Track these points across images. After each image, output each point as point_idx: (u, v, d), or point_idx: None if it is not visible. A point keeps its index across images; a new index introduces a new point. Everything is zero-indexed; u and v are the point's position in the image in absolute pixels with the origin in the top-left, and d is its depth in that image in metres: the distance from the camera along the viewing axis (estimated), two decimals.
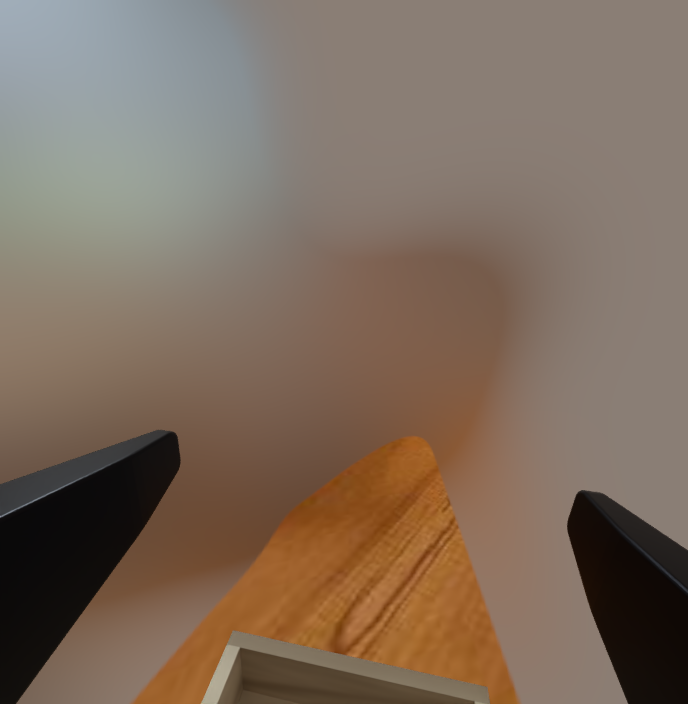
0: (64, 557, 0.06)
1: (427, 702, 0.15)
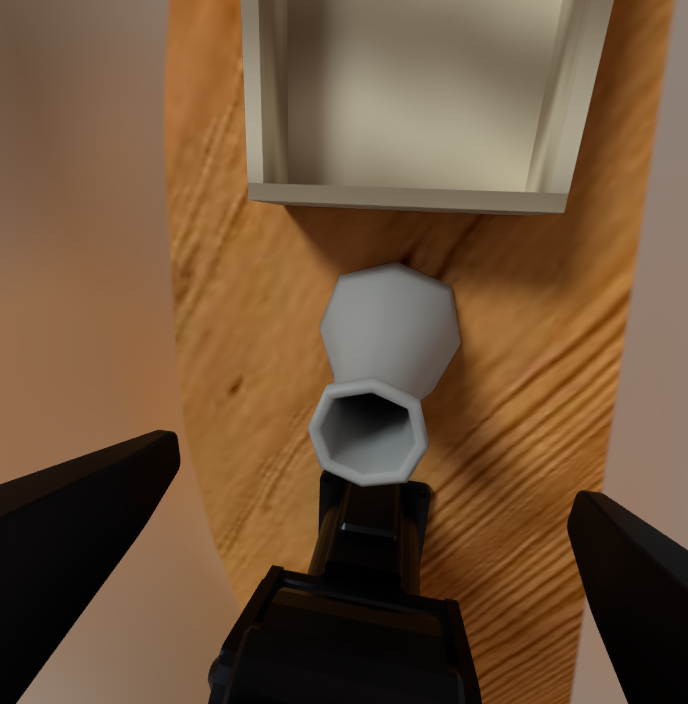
0: (64, 557, 0.06)
1: None
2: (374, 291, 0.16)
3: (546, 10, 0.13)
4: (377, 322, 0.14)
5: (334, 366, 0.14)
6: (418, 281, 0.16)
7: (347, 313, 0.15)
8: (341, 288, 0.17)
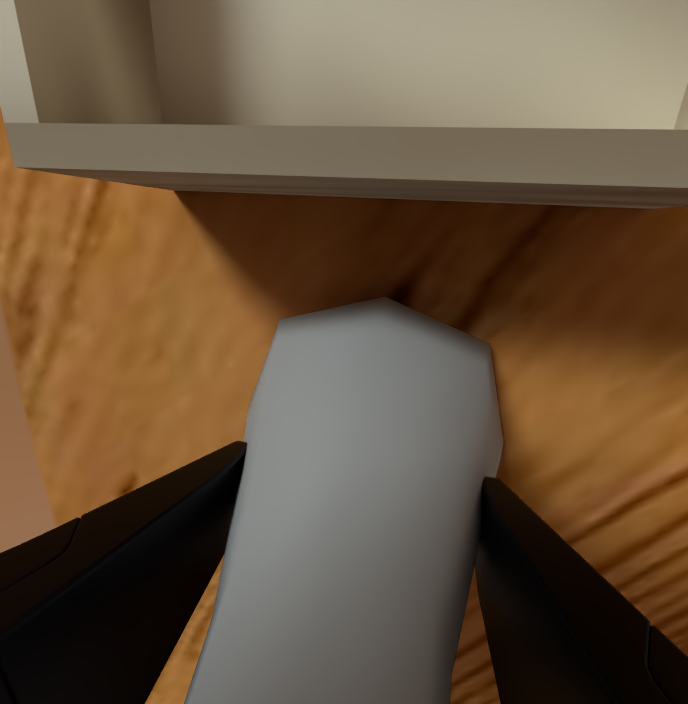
0: (170, 579, 0.06)
1: None
2: (334, 367, 0.07)
3: None
4: (329, 473, 0.05)
5: (219, 585, 0.05)
6: (426, 340, 0.08)
7: (267, 429, 0.06)
8: (275, 352, 0.08)
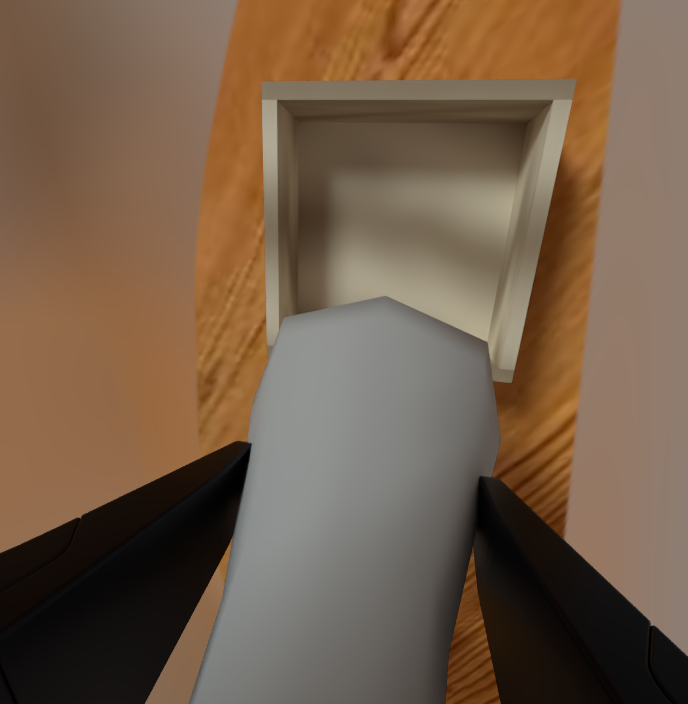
0: (170, 579, 0.06)
1: (495, 106, 0.14)
2: (337, 364, 0.08)
3: (499, 220, 0.17)
4: (333, 463, 0.06)
5: (228, 569, 0.06)
6: (426, 338, 0.08)
7: (273, 422, 0.07)
8: (279, 349, 0.09)
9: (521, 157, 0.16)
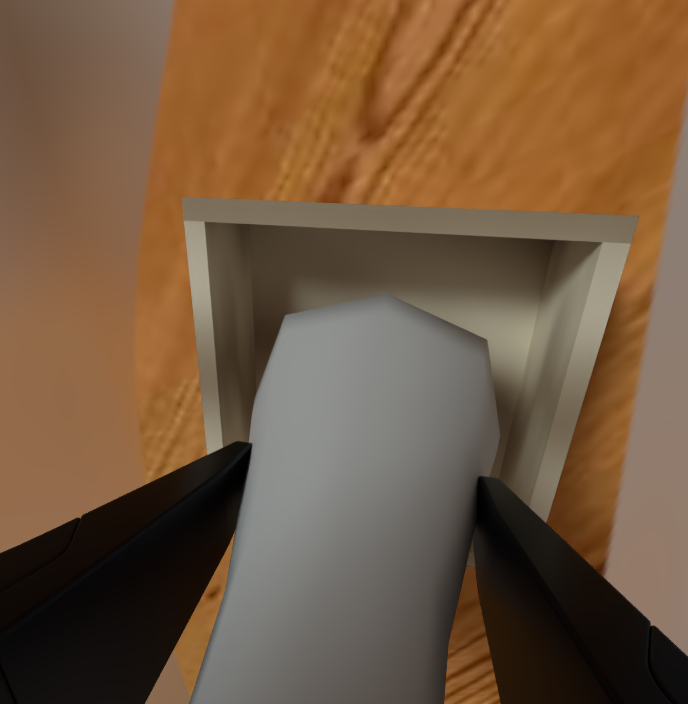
0: (170, 579, 0.06)
1: None
2: (338, 360, 0.08)
3: (514, 352, 0.13)
4: (335, 457, 0.06)
5: (231, 561, 0.06)
6: (427, 335, 0.09)
7: (275, 417, 0.07)
8: (281, 346, 0.09)
9: (546, 279, 0.12)
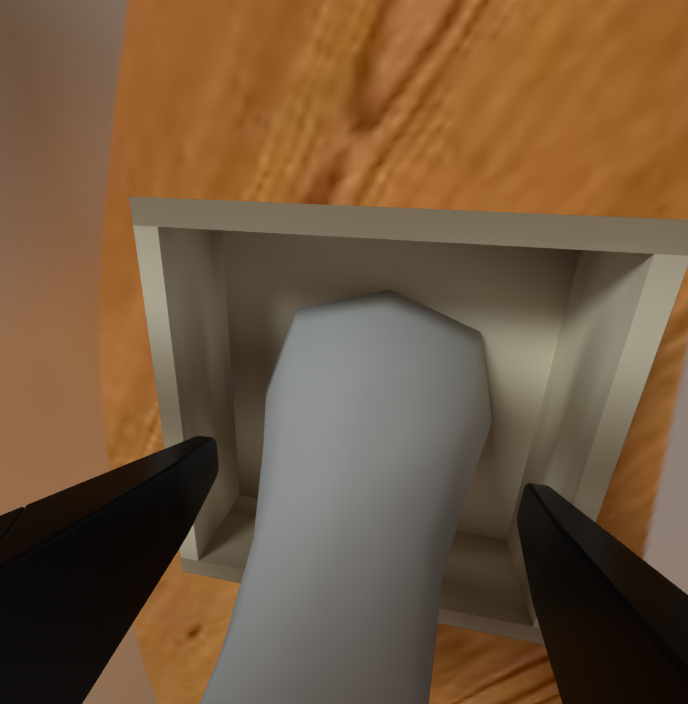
0: (117, 568, 0.06)
1: None
2: (347, 348, 0.09)
3: (531, 378, 0.11)
4: (346, 427, 0.07)
5: (257, 516, 0.07)
6: (425, 327, 0.10)
7: (292, 396, 0.08)
8: (294, 336, 0.10)
9: (571, 295, 0.10)
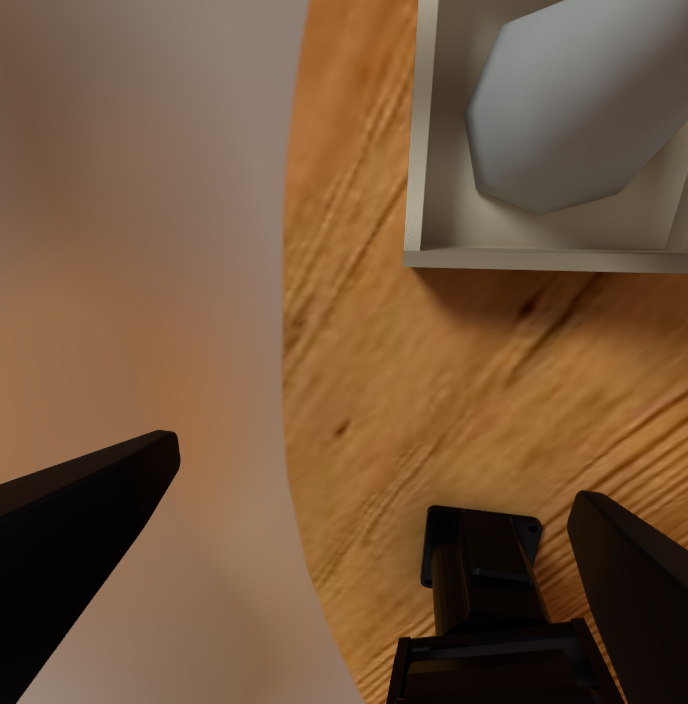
0: (64, 557, 0.06)
1: None
2: None
3: None
4: None
5: (576, 47, 0.09)
6: None
7: (568, 0, 0.10)
8: (522, 17, 0.12)
9: None
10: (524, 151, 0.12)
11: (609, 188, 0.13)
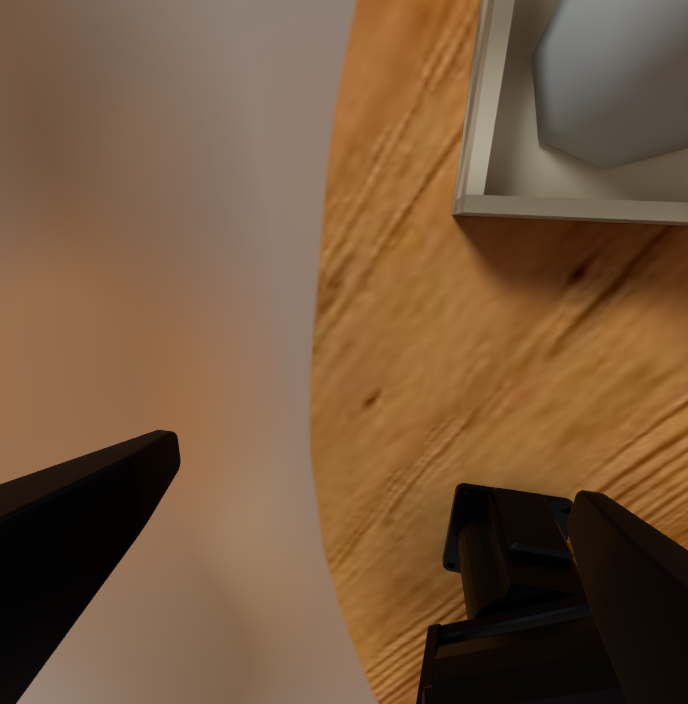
0: (64, 557, 0.06)
1: None
2: None
3: None
4: None
5: None
6: None
7: None
8: None
9: None
10: (608, 84, 0.11)
11: (685, 137, 0.13)
